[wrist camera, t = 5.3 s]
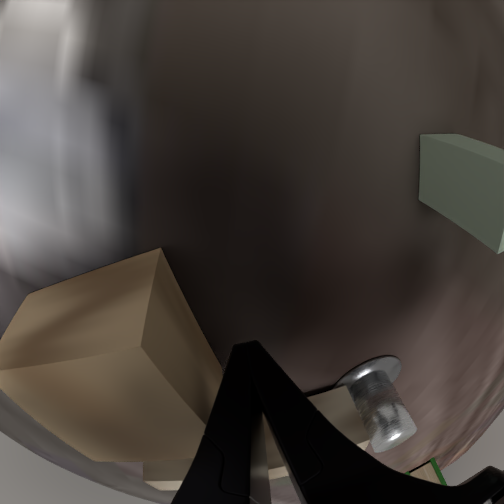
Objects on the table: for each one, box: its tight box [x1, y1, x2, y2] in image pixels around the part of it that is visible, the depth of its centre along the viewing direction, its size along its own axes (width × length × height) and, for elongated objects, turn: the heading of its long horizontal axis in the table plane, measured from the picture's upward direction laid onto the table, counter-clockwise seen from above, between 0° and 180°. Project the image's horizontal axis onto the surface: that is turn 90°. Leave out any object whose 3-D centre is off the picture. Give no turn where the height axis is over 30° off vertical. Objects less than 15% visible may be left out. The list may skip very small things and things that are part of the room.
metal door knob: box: [332, 356, 417, 453], centre depth 13 cm, size 4×4×4 cm
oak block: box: [0, 248, 223, 462], centre depth 8 cm, size 6×6×4 cm
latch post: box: [419, 134, 504, 254], centre depth 7 cm, size 2×2×4 cm
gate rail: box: [143, 386, 370, 490], centre depth 12 cm, size 11×2×4 cm, turn 100°
